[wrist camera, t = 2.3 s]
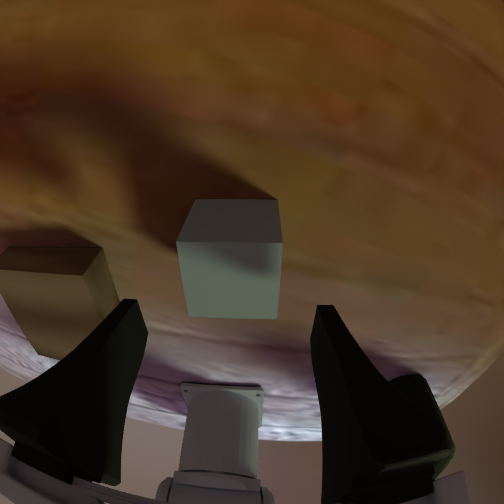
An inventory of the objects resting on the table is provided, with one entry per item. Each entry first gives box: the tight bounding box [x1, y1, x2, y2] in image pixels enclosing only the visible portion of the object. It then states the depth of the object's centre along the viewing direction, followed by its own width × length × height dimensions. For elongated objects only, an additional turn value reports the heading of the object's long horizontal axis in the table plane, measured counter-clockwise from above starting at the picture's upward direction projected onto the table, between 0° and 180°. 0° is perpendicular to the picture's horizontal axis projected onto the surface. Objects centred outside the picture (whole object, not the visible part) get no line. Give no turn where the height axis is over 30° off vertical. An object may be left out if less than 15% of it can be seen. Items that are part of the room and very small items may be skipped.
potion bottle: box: [389, 375, 455, 481], centre depth 20 cm, size 8×8×18 cm
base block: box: [0, 247, 120, 360], centre depth 20 cm, size 10×10×3 cm
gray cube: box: [176, 199, 283, 319], centre depth 16 cm, size 4×4×4 cm
